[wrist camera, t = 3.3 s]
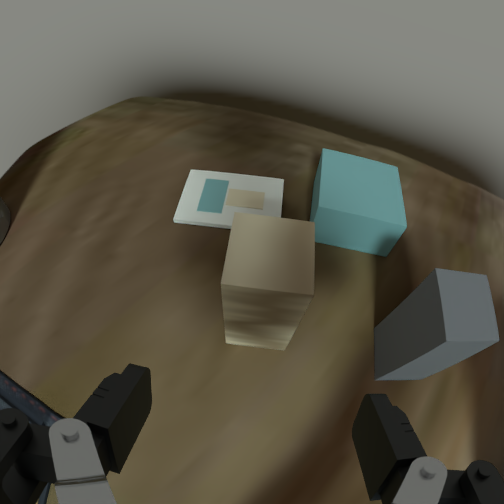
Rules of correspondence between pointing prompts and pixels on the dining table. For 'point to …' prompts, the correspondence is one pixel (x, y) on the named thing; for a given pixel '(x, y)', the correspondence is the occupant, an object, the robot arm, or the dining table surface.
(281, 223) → the maple block
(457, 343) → the charcoal block
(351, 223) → the teal base block
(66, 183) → the dining table surface
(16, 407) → the dark blue-grey book
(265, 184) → the card
